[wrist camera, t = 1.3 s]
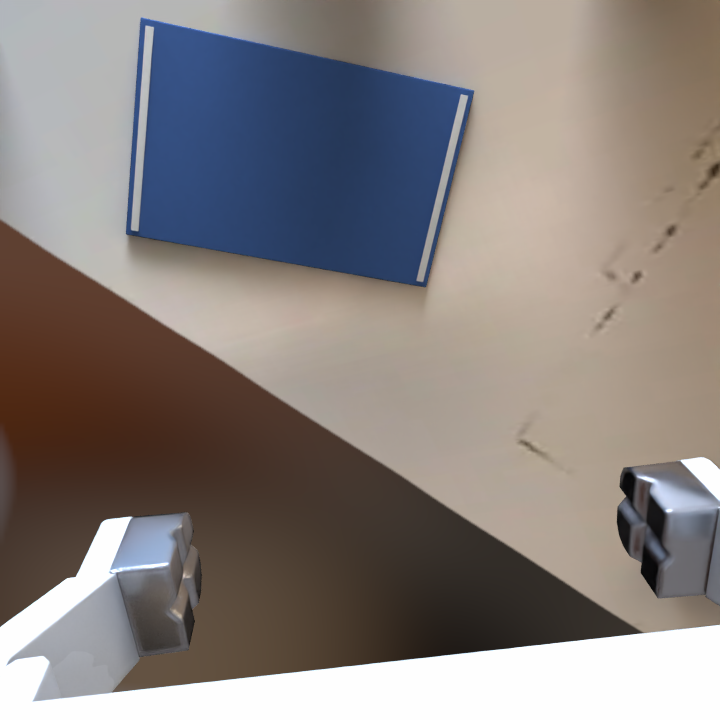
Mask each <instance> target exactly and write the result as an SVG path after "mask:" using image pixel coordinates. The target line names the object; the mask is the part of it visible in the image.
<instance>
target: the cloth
mask: <svg viewBox="0 0 720 720" xmlns="http://www.w3.org/2000/svg"><path fill="white" fill-rule="evenodd" d="M473 94H474V91H473V90H469V89H464V88H460V87H455V86H451V85H446V84H442V83H437V82H432V81H428V80H423V79H419V78H414V77H410V76H405V75H401V74H396V73H391V72H387V71H382V70H378V69H373V68H369V67H364V66H360V65H355V64H351V63H346V62H341V61H337V60H332V59H328V58H323V57H319V56H314V55H310V54H305V53H300V52H296V51H291V50H287V49H282V48H278V47H273V46H269V45H264V44H260V43H255V42H250V41H246V40H241V39H237V38H232V37H228V36H223V35H219V34H214V33H209V32H205V31H200V30H196V29H191V28H187V27H182V26H178V25H173V24H169V23H164V22H159V21H155V20H150V19H146V18H141V23H140V37H139V52H138V66H137V81H136V95H135V110H134V125H133V139H132V154H131V168H130V183H129V197H128V212H127V227H126V234H127V235H133V236H139V237H144V238H150V239H156V240H161V241H167V242H173V243H178V244H184V245H190V246H195V247H201V248H207V249H212V250H218V251H223V252H229V253H235V254H240V255H246V256H252V257H257V258H263V259H269V260H274V261H280V262H286V263H291V264H297V265H303V266H308V267H314V268H320V269H325V270H331V271H337V272H342V273H348V274H353V275H359V276H365V277H370V278H376V279H382V280H387V281H393V282H399V283H404V284H410V285H416V286H421V287H426V285H427V281H428V277H429V273H430V269H431V265H432V261H433V257H434V253H435V249H436V244H437V240H438V236H439V232H440V228H441V224H442V220H443V216H444V212H445V208H446V204H447V200H448V196H449V191H450V187H451V183H452V179H453V175H454V171H455V167H456V163H457V159H458V155H459V151H460V147H461V143H462V139H463V134H464V130H465V126H466V122H467V118H468V114H469V110H470V106H471V102H472V98H473Z"/></svg>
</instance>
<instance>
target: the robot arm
mask: <svg viewBox="0 0 720 720" xmlns="http://www.w3.org/2000/svg"><path fill="white" fill-rule="evenodd" d="M619 487H620V488H621V489H622V491H623V492H624V494H625V495H626V497H625V498H624V500H623V501H622V502H621V503H620V504H619V506H618V510H617V525H618V531H619V536H620V539H621V541H622V544H623V546H624V548H625V550H626V551H627V553H628V554H629V556H630V557H632V558H634V559H636V560H638V561H640V562H642V565H641V574H642V575H643V577H644V578H645V580H646V581H647V583H648V584H649V586H650V587H651V589H652V590H653V592H654V593H655V595H656V596H657V598H670V597H682V596H695V595H706V596H705V597H707V598H708V599H710V600H711V601H713V602H714V603H716V604H717V605H719V606H720V470H719V469H718V468H717V467H716V466H715V465H714V464H713V463H712V462H711V461H710V460H709V459H706V458H703V457H700V458H693V459H686V460H679V461H675V462H667V463H658V464H650V465H642V466H633V467H625V468H623V471H622V473H621V477H620V486H619ZM193 532H194V530H193V526H192V522H191V517H190V516H189V514H188V513H187V512H186V513H172V514H160V515H148V516H136V517H125V518H116V519H107V520H105V521H104V522H102V524H101V525H100V527H99V530H98V532H97V534H96V536H95V538H94V540H93V542H92V544H91V547H90V549H89V551H88V553H87V555H86V557H85V559H84V561H83V563H82V565H81V568H80V570H79V572H78V574H77V576H76V577H75V578H67V579H66V580H65V581H63V582H62V583H61V584H59V585H58V586H57V587H55V588H54V589H52V590H51V591H50V592H48V593H47V594H46V595H44V596H43V597H41V598H40V599H39V600H37V601H36V602H34V603H33V604H32V605H30V606H29V607H27V608H26V609H25V610H23V611H22V612H21V613H19V614H18V615H16V616H15V617H14V618H12V619H11V620H10V621H8V622H7V623H6V624H4V625H3V626H2V627H0V720H720V625H715V626H706V627H697V628H688V629H679V630H670V631H661V632H653V633H644V634H635V635H626V636H617V637H608V638H599V639H590V640H581V641H572V642H563V643H554V644H546V645H537V646H528V647H520V648H510V649H501V650H492V651H483V652H475V653H465V654H456V655H447V656H439V657H429V658H421V659H411V660H402V661H393V662H384V663H375V664H367V665H358V666H349V667H340V668H331V669H323V670H313V671H304V672H295V673H286V674H277V675H269V676H259V677H250V678H241V679H233V680H223V681H214V682H205V683H196V684H188V685H178V686H170V687H161V688H151V689H142V690H134V691H125V692H116V693H111V692H112V691H113V689H114V688H115V687H116V686H117V685H118V684H119V683H120V682H121V680H122V679H123V678H124V677H125V676H126V675H127V673H128V672H129V671H130V670H131V669H132V668H133V667H134V665H135V664H136V663H137V662H138V661H139V657H143V656H150V655H157V654H164V653H172V652H179V651H186V650H189V645H190V640H191V636H192V632H193V627H194V622H195V620H194V616H193V611H192V609H193V608H194V607H195V606H196V605H197V604H198V603H199V598H200V593H201V576H202V574H201V564H200V559H199V553H198V551H197V550H196V549H195V548H194V547H193V546H191V541H192V537H193Z"/></svg>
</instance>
